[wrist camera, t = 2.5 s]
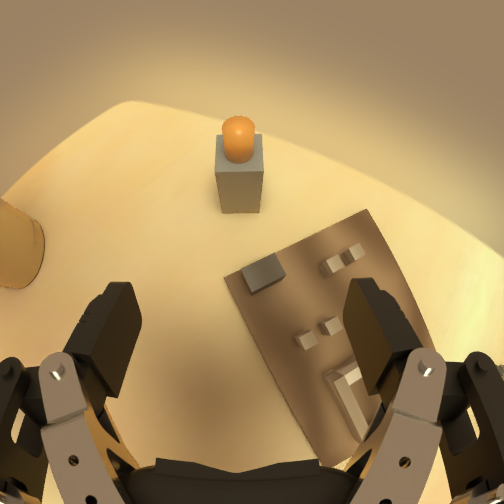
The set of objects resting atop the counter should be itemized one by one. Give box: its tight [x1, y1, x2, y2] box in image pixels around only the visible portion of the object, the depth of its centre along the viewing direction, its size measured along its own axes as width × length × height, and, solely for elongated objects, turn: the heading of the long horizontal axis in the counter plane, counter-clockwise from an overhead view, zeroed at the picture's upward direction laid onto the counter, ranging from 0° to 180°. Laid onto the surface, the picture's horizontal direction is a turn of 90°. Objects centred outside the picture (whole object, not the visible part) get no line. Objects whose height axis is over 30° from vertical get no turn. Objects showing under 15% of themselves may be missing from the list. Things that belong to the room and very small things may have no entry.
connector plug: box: [215, 116, 264, 213], centre depth 23 cm, size 4×4×11 cm
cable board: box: [224, 209, 436, 467], centre depth 22 cm, size 16×22×5 cm
